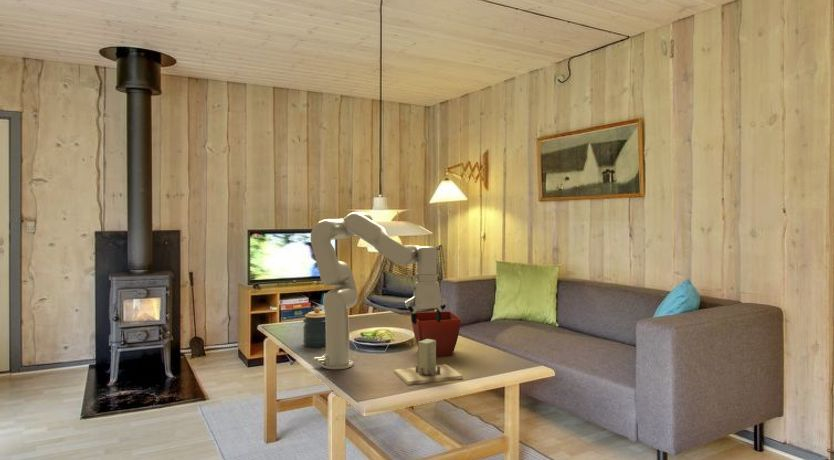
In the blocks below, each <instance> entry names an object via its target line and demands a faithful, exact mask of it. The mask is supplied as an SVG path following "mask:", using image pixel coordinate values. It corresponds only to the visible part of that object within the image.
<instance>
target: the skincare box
mask: <svg viewBox="0 0 834 460" xmlns="http://www.w3.org/2000/svg"><path fill="white" fill-rule="evenodd" d="M436 361H437V356H436V340H431V339H425V340H422V341H419V342H418V346H417V365H418V373H420V368H423V374H426V375H427V374H430V373H431V369H434V371H436V365H437V362H436Z"/></svg>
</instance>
